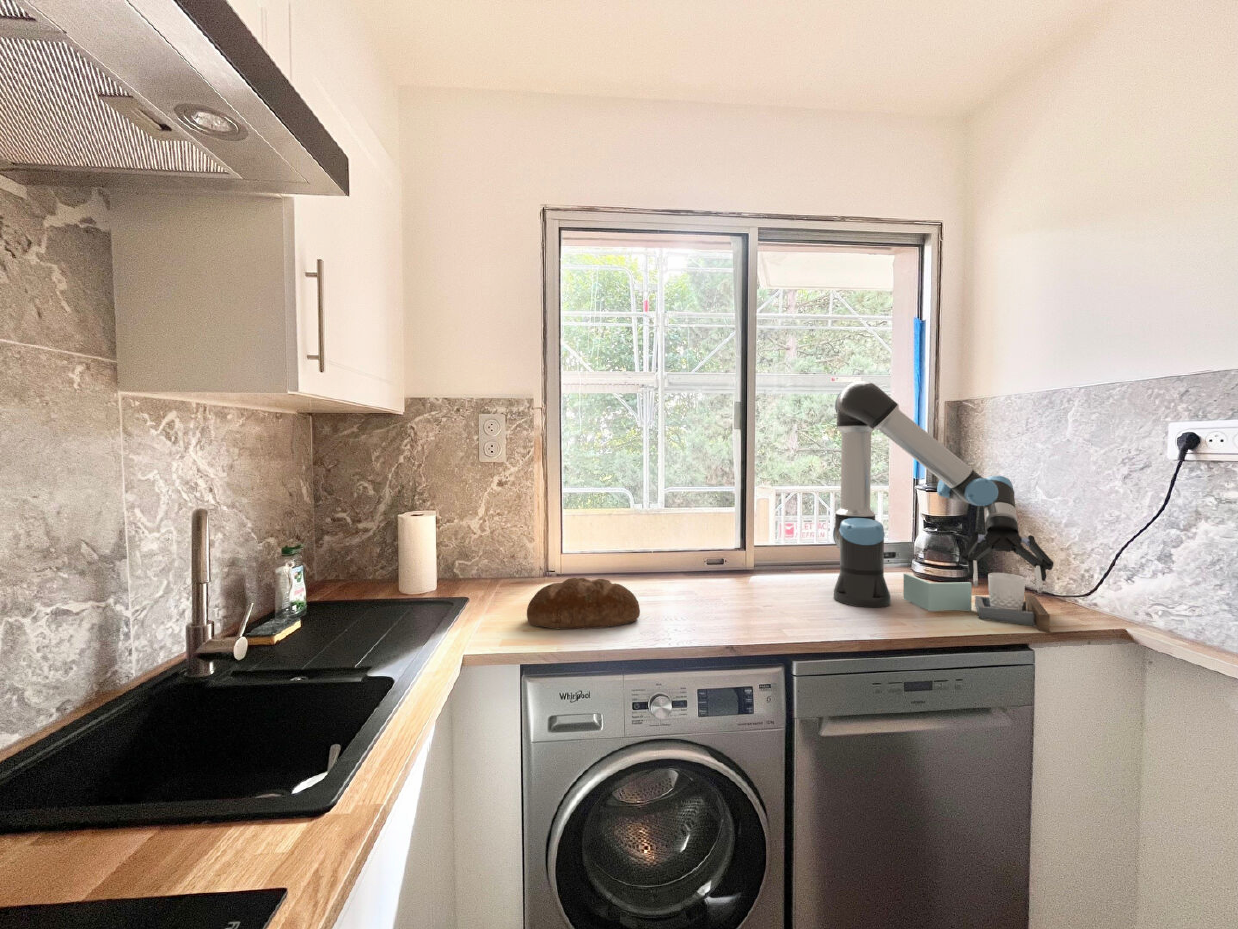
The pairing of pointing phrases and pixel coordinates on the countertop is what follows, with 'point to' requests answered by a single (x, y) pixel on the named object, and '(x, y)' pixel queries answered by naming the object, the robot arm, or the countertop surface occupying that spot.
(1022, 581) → the white cup
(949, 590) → the right angle wall
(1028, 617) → the gray square tray
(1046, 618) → the brown drawer face panel
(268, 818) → the countertop surface
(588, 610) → the bread
